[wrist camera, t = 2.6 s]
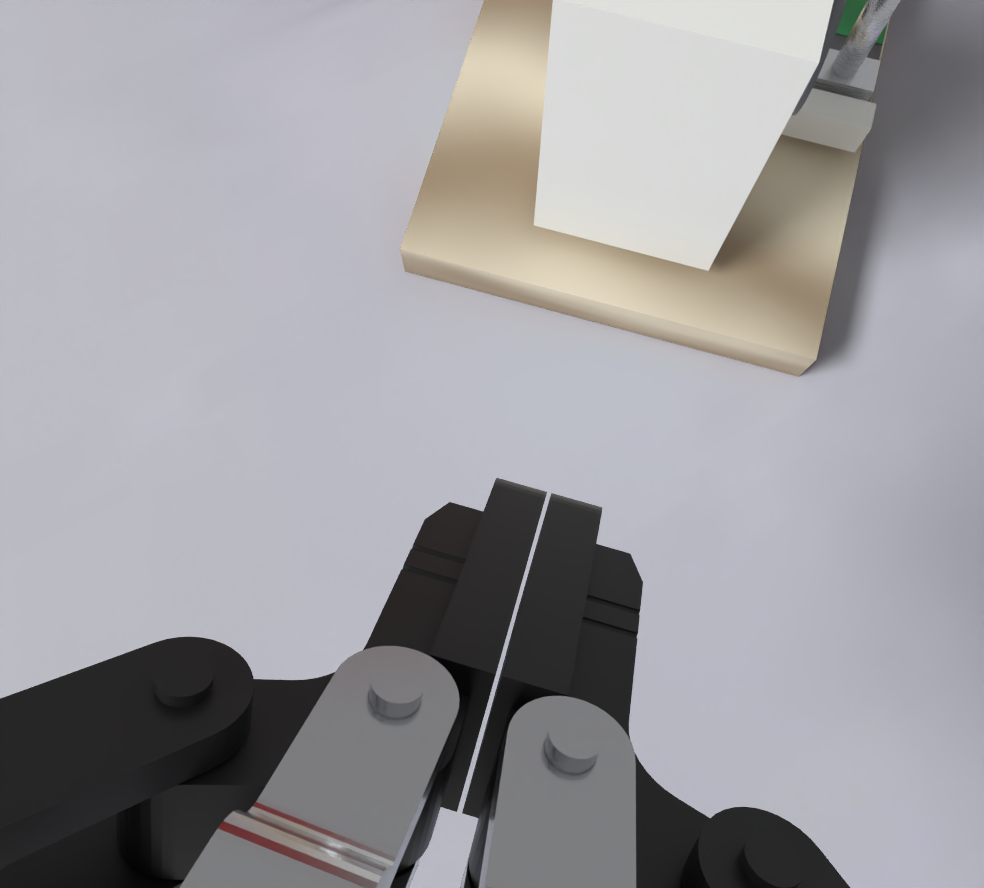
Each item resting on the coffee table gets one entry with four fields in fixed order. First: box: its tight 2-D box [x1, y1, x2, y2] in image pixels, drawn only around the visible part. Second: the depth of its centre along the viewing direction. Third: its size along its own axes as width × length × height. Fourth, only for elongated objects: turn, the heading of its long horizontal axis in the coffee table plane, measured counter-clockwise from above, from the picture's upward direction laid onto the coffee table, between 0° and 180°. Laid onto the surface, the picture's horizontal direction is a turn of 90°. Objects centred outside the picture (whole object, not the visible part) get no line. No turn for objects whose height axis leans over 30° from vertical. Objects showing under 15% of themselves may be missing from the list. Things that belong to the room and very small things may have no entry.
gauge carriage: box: [534, 0, 877, 271], centre depth 22 cm, size 8×8×9 cm
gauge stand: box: [400, 0, 890, 376], centre depth 28 cm, size 17×12×2 cm
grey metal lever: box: [813, 0, 901, 101], centre depth 25 cm, size 1×2×5 cm, turn 74°
